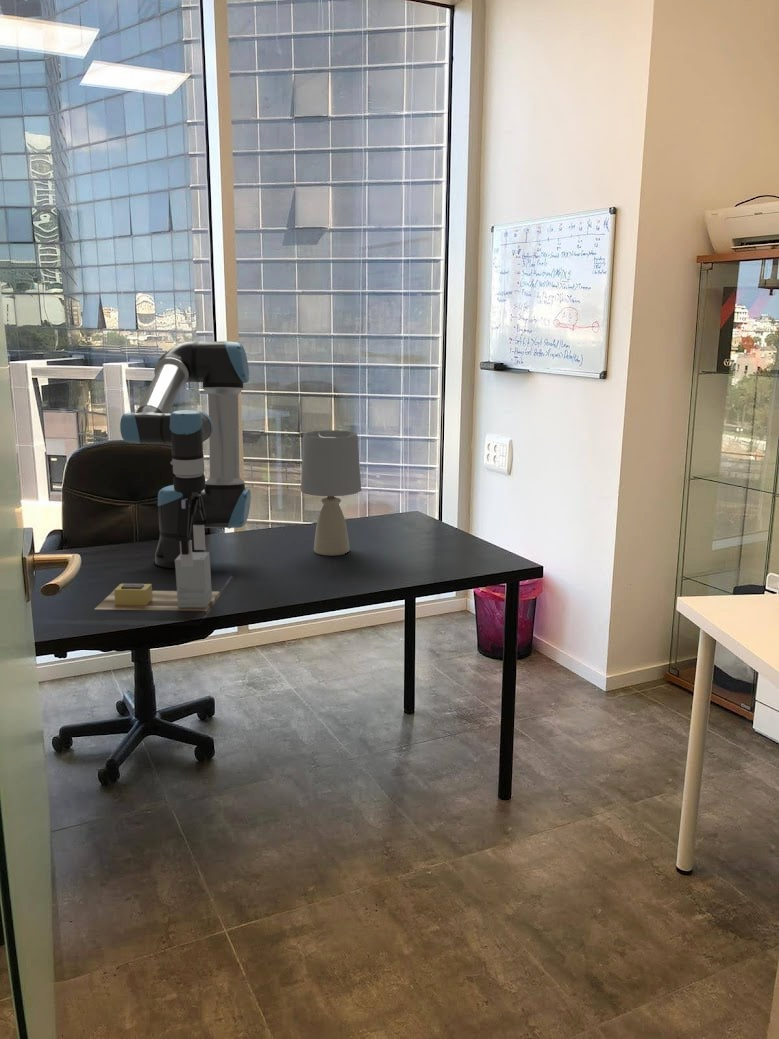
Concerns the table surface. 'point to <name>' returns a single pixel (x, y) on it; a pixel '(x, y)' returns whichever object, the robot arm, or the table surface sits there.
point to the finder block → (133, 594)
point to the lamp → (330, 483)
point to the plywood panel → (155, 602)
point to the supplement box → (194, 582)
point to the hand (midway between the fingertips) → (193, 557)
